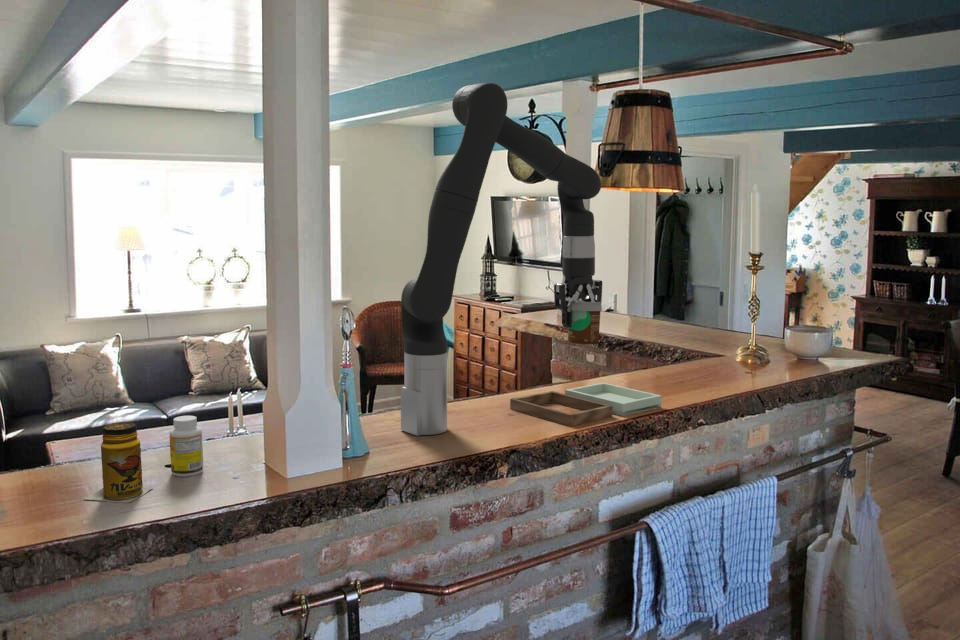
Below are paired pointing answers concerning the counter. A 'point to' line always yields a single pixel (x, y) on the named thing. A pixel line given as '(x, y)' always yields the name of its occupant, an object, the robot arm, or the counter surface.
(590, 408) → the walnut frame
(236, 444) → the counter surface
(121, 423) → the condiment
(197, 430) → the supplement bottle
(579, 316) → the food container
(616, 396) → the sage tray
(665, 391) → the counter surface
